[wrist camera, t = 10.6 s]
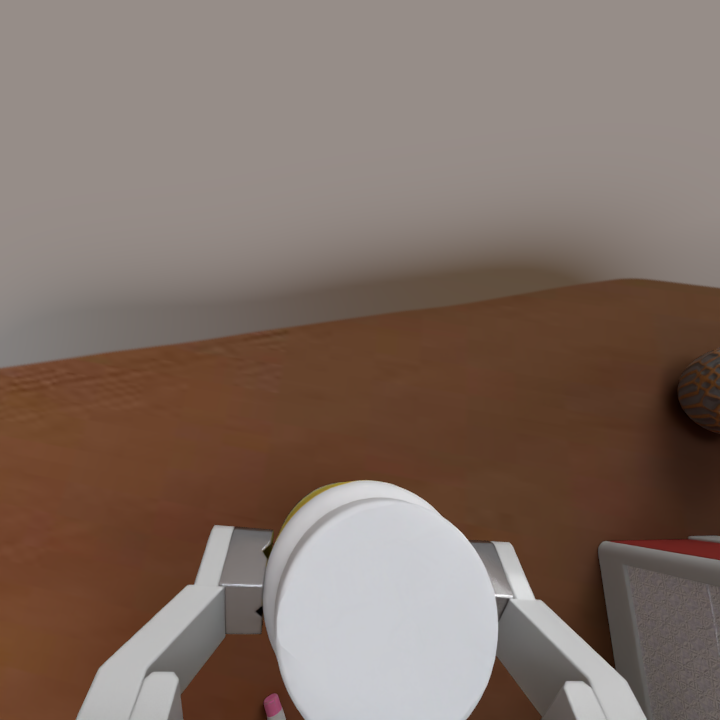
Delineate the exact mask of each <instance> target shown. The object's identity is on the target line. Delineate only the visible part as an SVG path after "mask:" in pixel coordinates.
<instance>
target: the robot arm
mask: <svg viewBox="0 0 720 720" xmlns="http://www.w3.org/2000/svg"><path fill="white" fill-rule="evenodd" d="M273 536H274V530H270V529H259V528H247V527H234V526H219V525H214V527H213V529H212V530H211V533H210V536H209V539H208V542H207V545H206V549H205V552H204V555H203V558H202V561H201V564H200V567H199V570H198V573H197V577H196V580H195V583H194V585H187V586H186V587H185V588H184V589H183V590H182V591H181V592H179V593H178V594H177V595H176V596H175V597H174V598H173V599H172V600H171V601H170V602H169V603H168V604H167V605H166V606H165V607H163V608H162V609H161V610H160V611H159V612H158V613H157V614H156V615H155V616H154V617H153V618H152V619H151V620H150V621H149V622H147V623H146V624H145V625H144V626H143V627H142V628H141V629H140V630H139V631H138V632H137V633H136V634H135V635H134V636H133V637H131V638H130V639H129V640H128V641H127V642H126V643H125V644H124V645H123V646H122V647H121V648H120V649H119V650H118V651H117V652H115V653H114V654H113V655H112V656H111V657H110V658H109V659H108V660H107V661H106V662H105V663H104V664H103V665H102V666H101V667H99V669H98V671H97V674H96V676H95V678H94V680H93V682H92V685H91V687H90V689H89V691H88V693H87V696H86V698H85V700H84V702H83V705H82V707H81V709H80V711H79V713H78V716H77V718H76V720H183V713H182V704H181V694H182V692H183V691H184V690H185V689H186V687H187V686H188V685H189V683H190V682H191V681H192V679H193V678H194V677H195V676H196V674H197V673H198V672H199V670H200V669H201V668H202V666H203V665H204V664H205V663H206V661H207V660H208V659H209V657H210V656H211V655H212V653H213V652H214V651H215V649H216V648H217V647H218V646H219V644H220V643H221V642H222V640H223V639H224V638H225V634H261V632H262V626H263V620H264V613H263V591H264V582H265V573H266V567H267V563H268V559H269V556H270V554H271V551H272V545H273ZM468 541H469V542H470V543H471V545H472V546H473V547H474V549H475V550H476V552H477V553H478V555H479V557H480V559H481V560H482V562H483V564H484V566H485V568H486V570H487V573H488V576H489V579H490V581H491V584H492V587H493V590H494V594H495V599H496V605H497V614H498V641H497V649H496V656H497V657H498V658H499V660H500V661H501V662H502V664H503V665H504V666H505V668H506V669H507V670H508V672H509V673H510V675H511V676H512V677H513V679H514V680H515V681H516V683H517V684H518V685H519V687H520V688H521V689H522V691H523V692H524V693H525V695H526V696H527V697H528V699H529V700H530V701H531V703H532V704H533V705H534V707H535V708H536V709H537V711H538V712H539V713H540V715H541V716H542V718H541V719H540V720H647V719H646V717H645V715H644V713H643V711H642V709H641V707H640V705H639V703H638V701H637V700H636V698H635V696H634V694H633V692H632V690H631V688H630V686H629V684H628V682H627V681H626V680H625V679H624V678H623V677H622V676H621V675H620V674H619V673H618V672H617V671H616V670H615V669H614V668H612V667H611V666H610V665H609V664H608V663H607V662H606V661H605V660H604V659H603V658H602V657H601V656H600V655H599V654H598V653H597V652H595V651H594V650H593V649H592V648H591V647H590V646H589V645H588V644H587V643H586V642H585V641H584V640H583V639H582V638H581V637H580V636H579V635H577V634H576V633H575V632H574V631H573V630H572V629H571V628H570V627H569V626H568V625H567V624H566V623H565V622H564V621H563V620H562V619H561V618H559V617H558V616H557V615H556V614H555V613H554V612H553V611H552V610H551V609H550V608H549V607H548V606H547V605H546V604H545V603H544V602H543V601H541V600H536V599H535V597H534V595H533V592H532V590H531V588H530V585H529V583H528V581H527V578H526V576H525V574H524V571H523V569H522V567H521V565H520V562H519V560H518V558H517V555H516V553H515V551H514V548H513V546H512V545H511V544H510V543H509V542H494V541H491V542H490V541H482V540H468Z"/></svg>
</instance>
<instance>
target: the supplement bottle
mask: <svg viewBox="0 0 720 720" xmlns="http://www.w3.org/2000/svg"><path fill="white" fill-rule="evenodd" d="M263 613H264V619H265V625H266V629H267V633H268V637H269V640H270V643H271V645H272V648H273V650H274V652H275V654H276V657H277V661H278V665H279V669H280V673H281V676H282V679H283V681H284V684H285V687H286V689H287V691H288V694H289V695H290V697H291V699H292V701H293V703H294V704H295V706H296V708H297V709H298V711H299V712H300V714H301V715H302V717H303V718H304V719H305V720H466V719H467V718H468V717H469V715H470V714H471V712H472V711H473V710H474V708H475V707H476V705H477V704H478V702H479V700H480V699H481V697H482V695H483V692H484V690H485V688H486V686H487V684H488V681H489V678H490V675H491V672H492V668H493V665H494V661H495V656H496V649H497V641H498V614H497V605H496V599H495V594H494V590H493V587H492V584H491V581H490V579H489V576H488V573H487V570H486V568H485V566H484V564H483V562H482V560H481V559H480V557H479V555H478V553H477V552H476V550H475V549H474V547H473V546H472V545H471V543H470V542H469V541H468V540H467V538H466V537H465V536H464V535H463V534H462V533H461V532H460V531H459V530H458V529H457V528H456V527H455V526H454V525H453V524H451V523H450V522H449V521H448V520H446V519H445V518H443V517H442V516H441V515H440V514H439V513H438V512H437V511H436V510H435V509H434V508H433V507H432V506H431V505H430V504H429V503H427V502H426V501H425V500H423V499H422V498H420V497H419V496H417V495H415V494H414V493H412V492H410V491H407V490H405V489H403V488H401V487H398V486H396V485H393V484H390V483H385V482H379V481H371V480H360V481H351V482H339V483H333V484H328V485H326V486H323V487H320V488H318V489H316V490H314V491H312V492H311V493H309V494H308V495H307V496H305V497H304V498H303V499H301V500H300V501H299V502H298V503H297V504H296V506H295V507H294V508H293V509H292V510H291V512H290V513H289V515H288V516H287V518H286V519H285V521H284V523H283V525H282V528H281V530H280V532H279V534H278V537H277V539H276V541H275V544H274V546H273V549H272V551H271V554H270V556H269V559H268V563H267V567H266V573H265V582H264V591H263Z"/></svg>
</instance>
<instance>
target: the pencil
mask: <svg viewBox="0 0 720 720" xmlns="http://www.w3.org/2000/svg"><path fill="white" fill-rule="evenodd" d="M264 707H265V710H266V714H267V719H268V720H286V718H285V715H284V711H283V708H282V707H281V703H280V700H279V697H278V695H277V694H276V693H274V694H271V695H269V696H268V697H267V698H266V699H265V700H264Z"/></svg>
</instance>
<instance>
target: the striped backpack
mask: <svg viewBox="0 0 720 720" xmlns="http://www.w3.org/2000/svg"><path fill="white" fill-rule="evenodd" d="M598 555H599V562H600V568H601V575H602V581H603V588H604V595H605V601H606V608H607V614H608V621H609V628H610V634H611V641H612V647H613V654H614V661H615V667H616V671H617V672H618V673H619V674H620V675H621V676H622V677H623V678H624V679H625V680H626V681H627V682H628V684H629V686H630V688H631V690H632V692H633V694H634V696H635V698H636V700H637V701H638V703H639V705H640V707H641V709H642V711H643V713H644V715H645V717H646V719H647V720H720V536H689V537H688V539H668V540H623V541H610V542H608V541H604V542H602V543H601V544H600V546H599V548H598Z"/></svg>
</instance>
